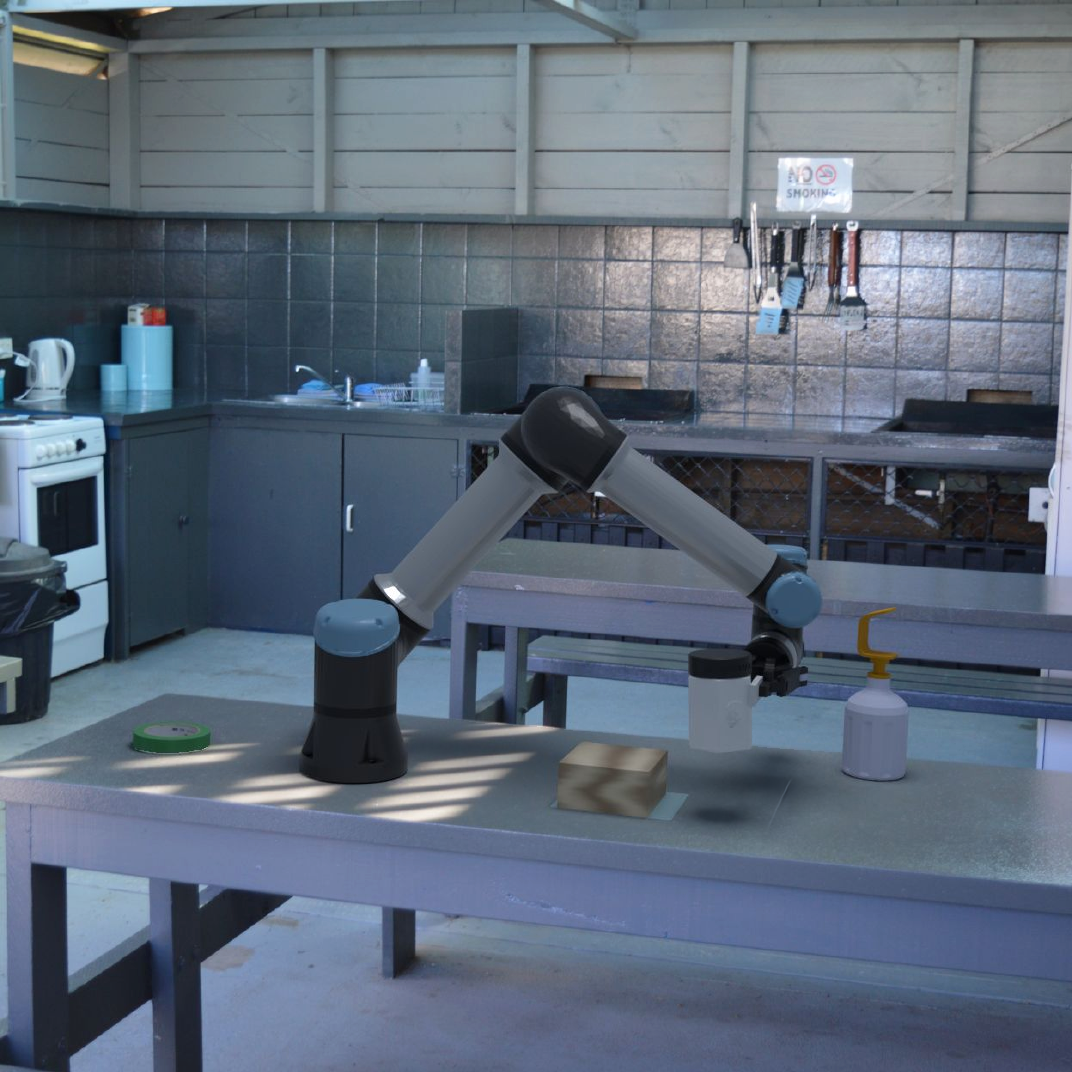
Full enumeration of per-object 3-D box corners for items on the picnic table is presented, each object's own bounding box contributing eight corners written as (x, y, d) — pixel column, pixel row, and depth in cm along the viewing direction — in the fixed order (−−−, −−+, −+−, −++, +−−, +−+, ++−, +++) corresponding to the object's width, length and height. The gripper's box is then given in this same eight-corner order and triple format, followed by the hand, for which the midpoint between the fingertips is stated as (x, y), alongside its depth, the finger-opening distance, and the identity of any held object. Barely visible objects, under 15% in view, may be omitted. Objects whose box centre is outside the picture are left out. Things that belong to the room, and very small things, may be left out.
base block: (557, 807, 193) (558, 762, 192) (580, 784, 204) (581, 741, 203) (647, 818, 189) (649, 772, 189) (665, 793, 201) (667, 750, 200)
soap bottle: (895, 785, 210) (905, 614, 208) (833, 775, 215) (842, 607, 212) (912, 771, 218) (922, 606, 216) (852, 762, 223) (861, 600, 220)
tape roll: (225, 744, 222) (225, 727, 222) (177, 760, 212) (178, 742, 212) (166, 734, 227) (166, 717, 226) (117, 750, 217) (117, 732, 216)
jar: (704, 755, 186) (703, 661, 184) (675, 742, 193) (674, 651, 192) (767, 748, 189) (766, 655, 188) (736, 735, 196) (735, 646, 195)
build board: (549, 809, 193) (549, 806, 193) (575, 784, 205) (575, 781, 205) (670, 823, 189) (670, 820, 188) (689, 797, 201) (689, 794, 201)
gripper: (818, 693, 208) (799, 730, 185) (713, 683, 212) (683, 717, 189) (821, 641, 207) (803, 671, 184) (716, 631, 211) (686, 660, 188)
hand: (742, 694), depth 187 cm, fingers closed on jar, 2 cm apart
